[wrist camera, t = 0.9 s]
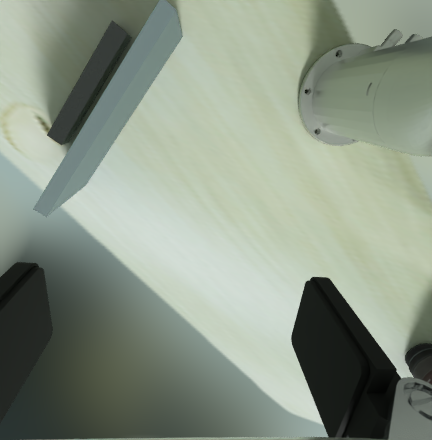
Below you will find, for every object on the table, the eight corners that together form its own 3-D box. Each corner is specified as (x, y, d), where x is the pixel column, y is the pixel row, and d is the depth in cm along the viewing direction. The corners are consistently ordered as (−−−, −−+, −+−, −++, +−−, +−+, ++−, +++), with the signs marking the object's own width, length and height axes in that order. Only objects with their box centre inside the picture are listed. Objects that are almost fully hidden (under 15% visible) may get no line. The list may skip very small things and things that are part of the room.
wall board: (172, 27, 35) (161, -4, 24) (182, 36, 36) (176, 9, 25) (76, 179, 42) (33, 209, 31) (85, 185, 42) (46, 217, 31)
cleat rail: (117, 24, 35) (112, 20, 33) (131, 37, 35) (127, 33, 33) (54, 133, 39) (46, 135, 37) (68, 142, 40) (61, 145, 38)
